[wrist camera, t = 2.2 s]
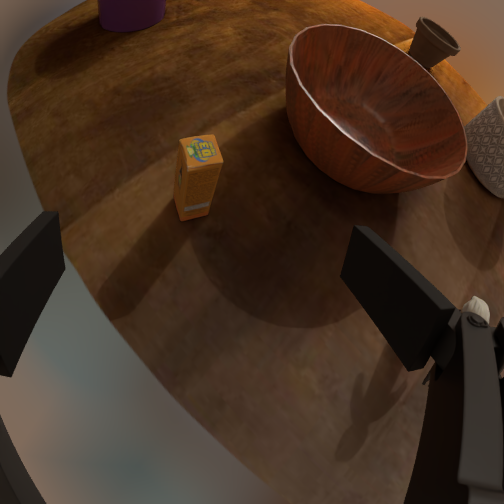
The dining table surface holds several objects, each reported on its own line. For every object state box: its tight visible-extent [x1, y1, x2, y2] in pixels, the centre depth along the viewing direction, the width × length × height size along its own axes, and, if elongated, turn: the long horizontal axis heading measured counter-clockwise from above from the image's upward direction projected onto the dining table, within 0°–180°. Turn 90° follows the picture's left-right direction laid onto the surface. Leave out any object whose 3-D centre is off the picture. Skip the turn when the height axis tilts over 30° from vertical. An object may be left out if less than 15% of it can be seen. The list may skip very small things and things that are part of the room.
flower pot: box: [409, 17, 460, 68], centre depth 53 cm, size 12×11×10 cm
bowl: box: [286, 24, 468, 194], centre depth 37 cm, size 25×25×11 cm
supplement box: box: [174, 135, 223, 221], centre depth 29 cm, size 3×3×10 cm
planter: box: [464, 96, 504, 198], centre depth 45 cm, size 16×16×13 cm
